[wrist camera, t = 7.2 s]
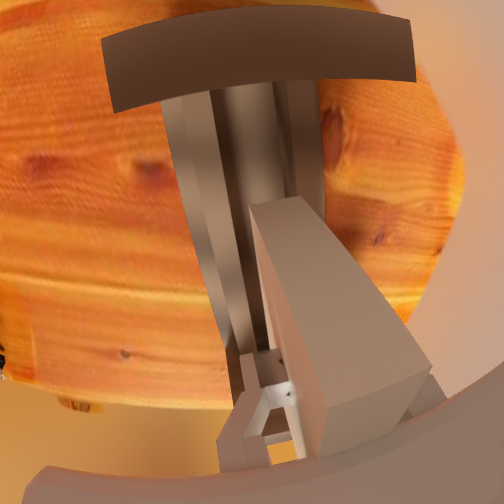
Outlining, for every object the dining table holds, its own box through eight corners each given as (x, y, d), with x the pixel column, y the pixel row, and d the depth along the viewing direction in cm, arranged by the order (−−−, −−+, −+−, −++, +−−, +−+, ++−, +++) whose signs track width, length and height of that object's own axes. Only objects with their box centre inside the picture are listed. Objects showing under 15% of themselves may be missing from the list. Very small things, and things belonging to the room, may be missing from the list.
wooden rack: (156, 66, 12) (101, 38, 5) (305, 46, 13) (409, 19, 5) (228, 354, 24) (244, 449, 16) (318, 333, 24) (355, 420, 17)
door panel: (248, 204, 11) (328, 407, 4) (300, 195, 11) (432, 366, 4) (272, 367, 16) (308, 494, 9) (305, 358, 16) (350, 481, 9)
